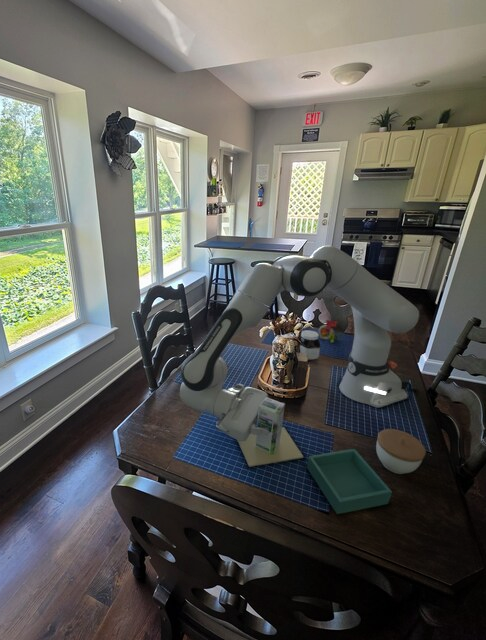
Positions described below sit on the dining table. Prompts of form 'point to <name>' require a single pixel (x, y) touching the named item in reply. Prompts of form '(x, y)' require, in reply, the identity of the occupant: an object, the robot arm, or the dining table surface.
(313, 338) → the spread jar
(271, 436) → the syrup box
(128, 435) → the dining table surface
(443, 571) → the dining table surface
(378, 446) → the trinket box
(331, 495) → the teal green tray
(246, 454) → the felt mat
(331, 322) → the bird rattle
